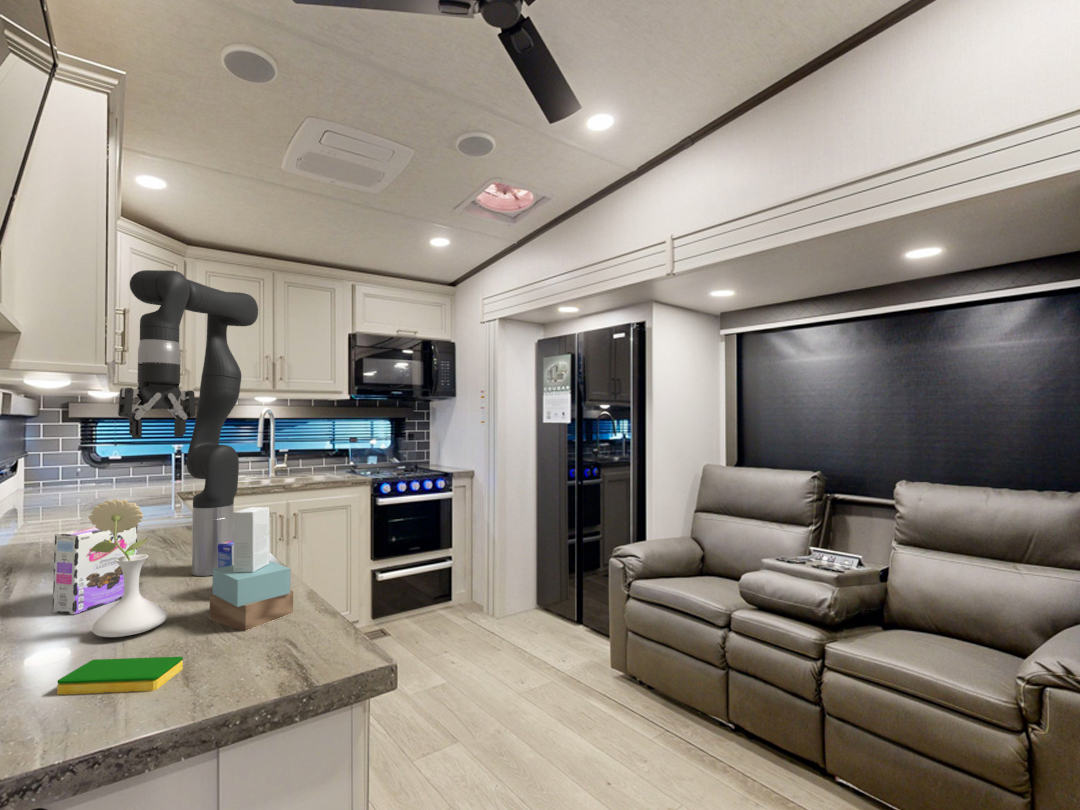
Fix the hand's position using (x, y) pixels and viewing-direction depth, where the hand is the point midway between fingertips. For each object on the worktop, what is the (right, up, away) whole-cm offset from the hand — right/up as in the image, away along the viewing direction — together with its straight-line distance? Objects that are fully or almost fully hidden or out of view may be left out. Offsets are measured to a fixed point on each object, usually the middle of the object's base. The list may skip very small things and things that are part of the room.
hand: (158, 437), depth 115 cm
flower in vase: (+4, -36, -14) cm, 39 cm away
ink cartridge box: (+14, -37, +8) cm, 40 cm away
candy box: (-14, -36, +1) cm, 39 cm away
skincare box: (+24, -26, -7) cm, 36 cm away
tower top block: (+24, -31, -7) cm, 40 cm away
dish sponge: (+18, -36, -33) cm, 52 cm away
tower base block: (+24, -36, -7) cm, 44 cm away
